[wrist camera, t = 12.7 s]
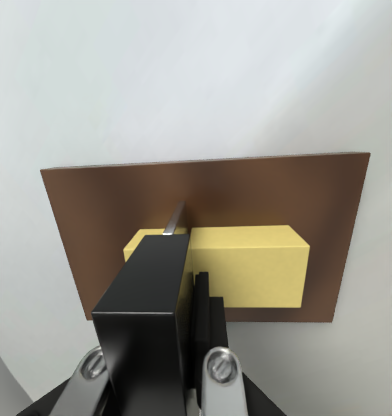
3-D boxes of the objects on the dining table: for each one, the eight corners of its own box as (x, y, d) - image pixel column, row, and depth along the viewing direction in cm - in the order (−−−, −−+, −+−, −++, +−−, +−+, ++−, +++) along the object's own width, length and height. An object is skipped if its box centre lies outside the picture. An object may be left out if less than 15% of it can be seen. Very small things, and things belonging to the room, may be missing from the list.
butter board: (95, 307, 19) (86, 320, 18) (55, 167, 15) (39, 169, 13) (322, 308, 17) (332, 322, 16) (353, 151, 13) (371, 152, 12)
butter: (195, 277, 15) (192, 307, 13) (191, 227, 14) (187, 248, 11) (283, 277, 15) (301, 308, 12) (288, 224, 13) (310, 246, 11)
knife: (178, 304, 16) (144, 495, 7) (167, 201, 13) (88, 312, 4) (202, 304, 16) (196, 499, 7) (197, 200, 13) (174, 313, 4)
